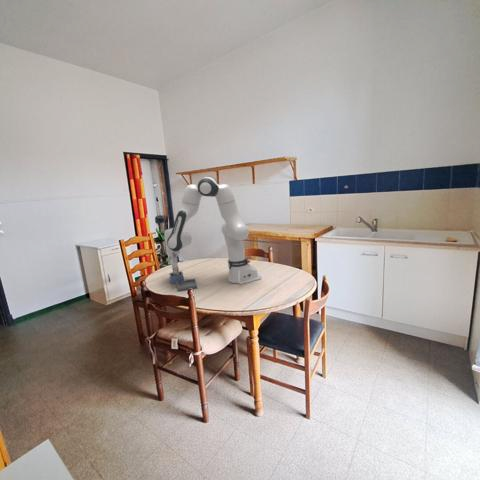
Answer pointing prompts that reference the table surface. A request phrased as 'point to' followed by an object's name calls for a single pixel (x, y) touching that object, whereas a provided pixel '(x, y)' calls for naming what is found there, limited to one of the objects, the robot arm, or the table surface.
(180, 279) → the blue socket block
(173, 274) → the peg
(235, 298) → the table surface
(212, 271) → the table surface
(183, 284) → the tray
